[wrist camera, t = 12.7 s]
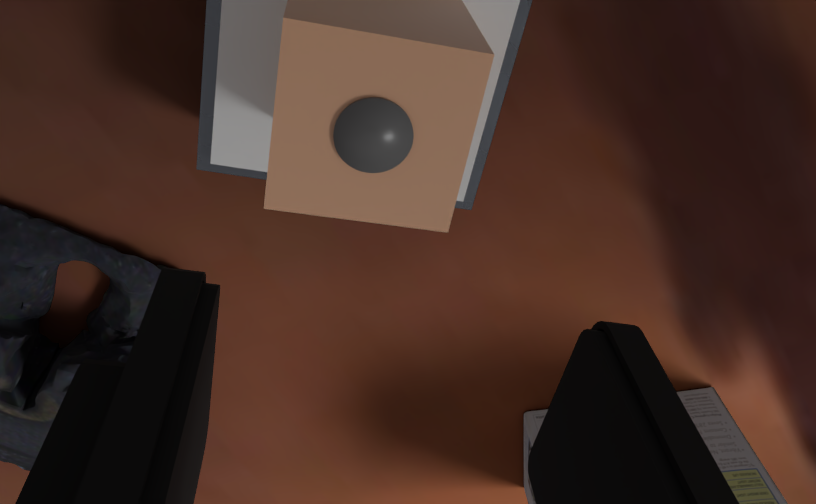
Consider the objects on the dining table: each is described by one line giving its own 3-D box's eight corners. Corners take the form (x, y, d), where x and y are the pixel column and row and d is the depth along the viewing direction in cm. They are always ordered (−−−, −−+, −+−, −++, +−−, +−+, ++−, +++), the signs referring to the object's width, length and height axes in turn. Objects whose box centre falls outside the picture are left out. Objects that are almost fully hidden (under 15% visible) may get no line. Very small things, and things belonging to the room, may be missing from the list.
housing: (459, -5, 22) (495, 56, 17) (425, 143, 25) (448, 234, 19) (296, -36, 21) (282, 18, 16) (279, 121, 24) (263, 210, 19)
